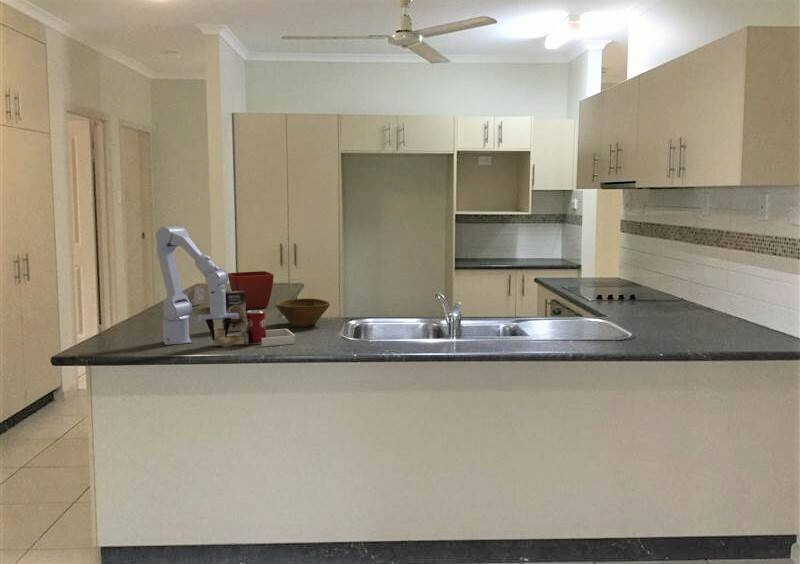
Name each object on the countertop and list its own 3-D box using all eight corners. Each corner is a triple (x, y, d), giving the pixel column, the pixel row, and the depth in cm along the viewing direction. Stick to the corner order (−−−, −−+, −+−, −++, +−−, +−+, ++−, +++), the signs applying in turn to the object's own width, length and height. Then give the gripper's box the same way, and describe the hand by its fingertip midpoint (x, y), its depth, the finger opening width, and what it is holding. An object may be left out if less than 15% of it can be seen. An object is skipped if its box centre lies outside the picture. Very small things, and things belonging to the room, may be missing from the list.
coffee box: (224, 332, 278) (222, 293, 276) (222, 329, 284) (220, 291, 282) (246, 330, 282) (245, 292, 280) (244, 327, 288) (243, 289, 286)
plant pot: (228, 305, 344) (227, 272, 342) (265, 303, 352) (264, 270, 350) (236, 311, 327) (235, 276, 325) (275, 308, 335) (274, 274, 333)
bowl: (321, 331, 280) (320, 307, 279) (268, 329, 285) (267, 305, 283) (336, 321, 301) (336, 298, 300) (287, 319, 306) (286, 297, 305)
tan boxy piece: (215, 346, 249) (215, 331, 248) (212, 341, 257) (212, 327, 256) (248, 344, 253) (248, 329, 252) (244, 339, 261) (244, 325, 261)
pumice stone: (194, 302, 355) (194, 283, 354) (208, 303, 354) (207, 284, 352) (179, 307, 341) (178, 287, 339) (193, 307, 339) (192, 288, 338)
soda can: (246, 345, 255) (245, 313, 253) (246, 341, 262) (245, 310, 260) (266, 344, 256) (265, 312, 254) (265, 340, 263) (265, 309, 261)
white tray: (262, 346, 252) (261, 338, 252) (254, 338, 266) (254, 331, 265) (296, 343, 257) (295, 335, 257) (287, 336, 271) (286, 328, 270)
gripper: (198, 305, 245) (200, 342, 247) (239, 303, 251) (240, 339, 252) (196, 302, 252) (198, 339, 253) (236, 300, 257) (237, 335, 259)
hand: (219, 339), depth 253 cm, fingers open, 4 cm apart
